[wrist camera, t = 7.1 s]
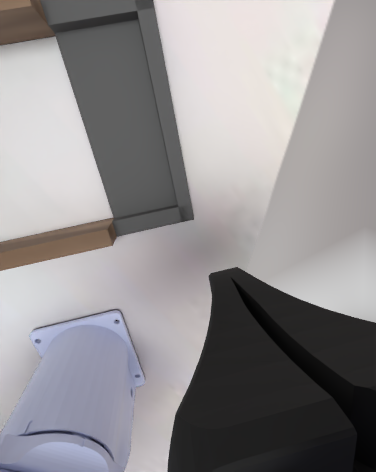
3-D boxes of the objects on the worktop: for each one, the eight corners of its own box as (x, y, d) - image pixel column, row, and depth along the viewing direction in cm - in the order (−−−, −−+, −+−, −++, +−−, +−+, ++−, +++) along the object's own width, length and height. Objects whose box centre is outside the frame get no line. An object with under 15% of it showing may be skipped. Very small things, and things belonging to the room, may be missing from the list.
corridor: (119, 231, 18) (112, 245, 16) (4, 256, 18) (-24, 276, 15) (48, 10, 13) (20, -28, 11) (-114, 36, 13) (-189, 3, 10)
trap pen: (191, 215, 19) (194, 219, 18) (119, 231, 18) (116, 236, 17) (149, -6, 14) (149, -21, 13) (48, 10, 13) (39, -3, 12)
